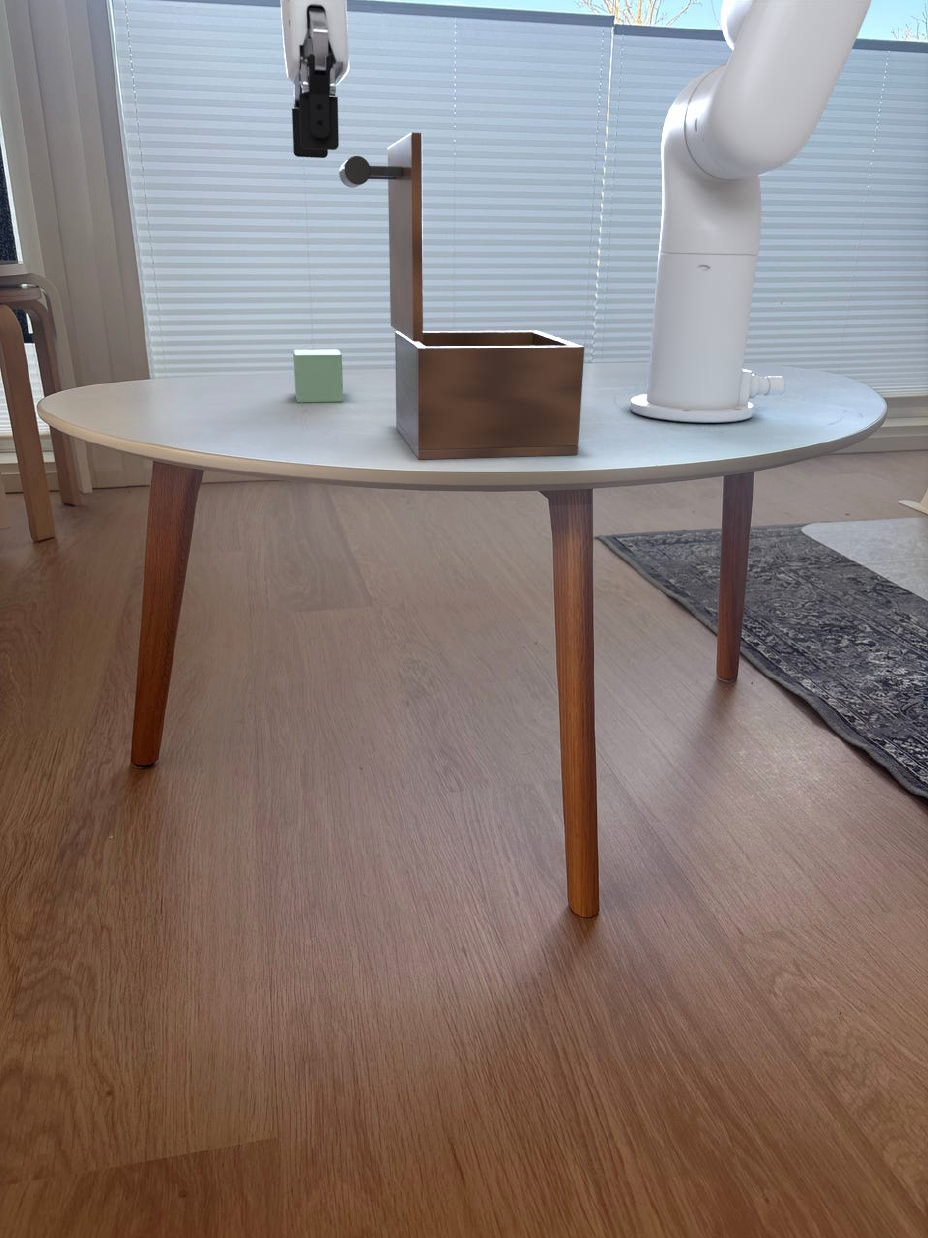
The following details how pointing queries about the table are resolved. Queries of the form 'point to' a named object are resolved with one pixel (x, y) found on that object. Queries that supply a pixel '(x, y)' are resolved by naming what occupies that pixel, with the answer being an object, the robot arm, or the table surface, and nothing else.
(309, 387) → the block
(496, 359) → the chest
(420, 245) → the chest lid
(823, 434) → the table surface
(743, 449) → the table surface
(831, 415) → the table surface
